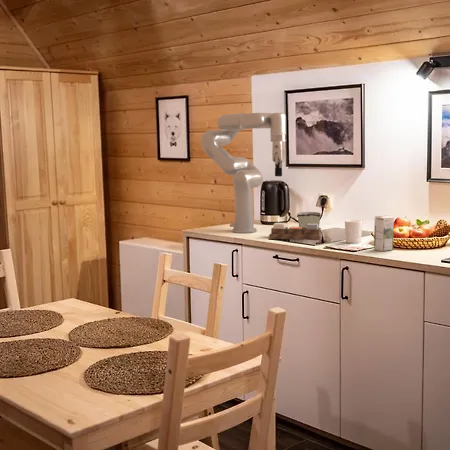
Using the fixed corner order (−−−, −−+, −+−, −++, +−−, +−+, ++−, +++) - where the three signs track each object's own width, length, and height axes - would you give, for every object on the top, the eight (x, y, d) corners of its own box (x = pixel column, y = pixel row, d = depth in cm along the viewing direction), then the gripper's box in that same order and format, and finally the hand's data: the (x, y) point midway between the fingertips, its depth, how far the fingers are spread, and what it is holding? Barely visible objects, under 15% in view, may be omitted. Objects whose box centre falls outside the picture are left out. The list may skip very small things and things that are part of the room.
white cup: (344, 241, 318) (344, 219, 317) (362, 241, 317) (362, 219, 316) (344, 243, 310) (345, 221, 309) (362, 243, 309) (362, 221, 308)
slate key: (306, 231, 327) (306, 224, 326) (308, 229, 331) (308, 223, 331) (317, 231, 325) (317, 224, 325) (318, 229, 330) (318, 223, 330)
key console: (269, 238, 330) (269, 229, 329) (273, 235, 339) (273, 226, 339) (319, 239, 323) (319, 230, 322) (322, 236, 333) (322, 227, 332)
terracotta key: (289, 234, 329) (289, 227, 329) (291, 232, 334) (291, 226, 333) (300, 234, 328) (300, 228, 327) (302, 232, 333) (302, 226, 332)
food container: (320, 231, 352) (320, 211, 351) (321, 232, 346) (321, 213, 345) (296, 231, 353) (296, 211, 352) (296, 233, 347) (296, 213, 346)
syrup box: (384, 248, 296) (384, 215, 294) (393, 250, 290) (394, 216, 289) (373, 249, 293) (374, 215, 291) (383, 251, 288) (383, 217, 286)
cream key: (273, 230, 331) (273, 224, 331) (275, 228, 336) (275, 222, 335) (283, 230, 330) (283, 224, 329) (285, 229, 334) (285, 223, 334)
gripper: (282, 138, 327) (283, 177, 329) (288, 138, 341) (288, 175, 344) (267, 138, 329) (267, 177, 331) (273, 138, 343) (274, 175, 346)
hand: (278, 176), depth 338 cm, fingers closed
